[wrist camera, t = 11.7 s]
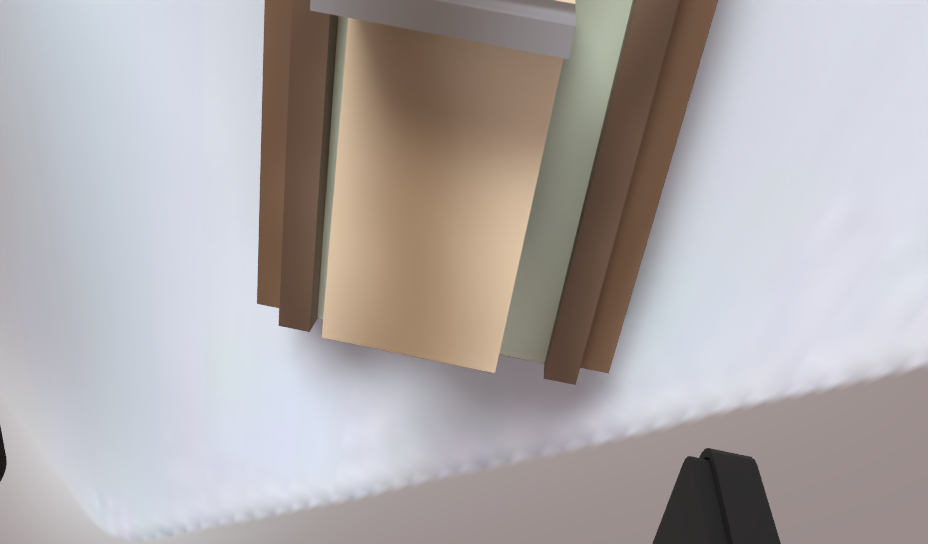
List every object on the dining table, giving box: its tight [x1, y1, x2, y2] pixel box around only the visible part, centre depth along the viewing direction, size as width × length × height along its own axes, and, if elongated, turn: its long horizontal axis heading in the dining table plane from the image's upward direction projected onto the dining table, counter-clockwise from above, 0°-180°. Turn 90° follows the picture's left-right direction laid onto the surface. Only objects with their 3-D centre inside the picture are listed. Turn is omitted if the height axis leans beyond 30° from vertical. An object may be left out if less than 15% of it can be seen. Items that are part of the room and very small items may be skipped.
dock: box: [257, 0, 718, 385], centre depth 27 cm, size 14×18×5 cm
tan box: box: [310, 0, 576, 373], centre depth 21 cm, size 5×10×10 cm, turn 171°
